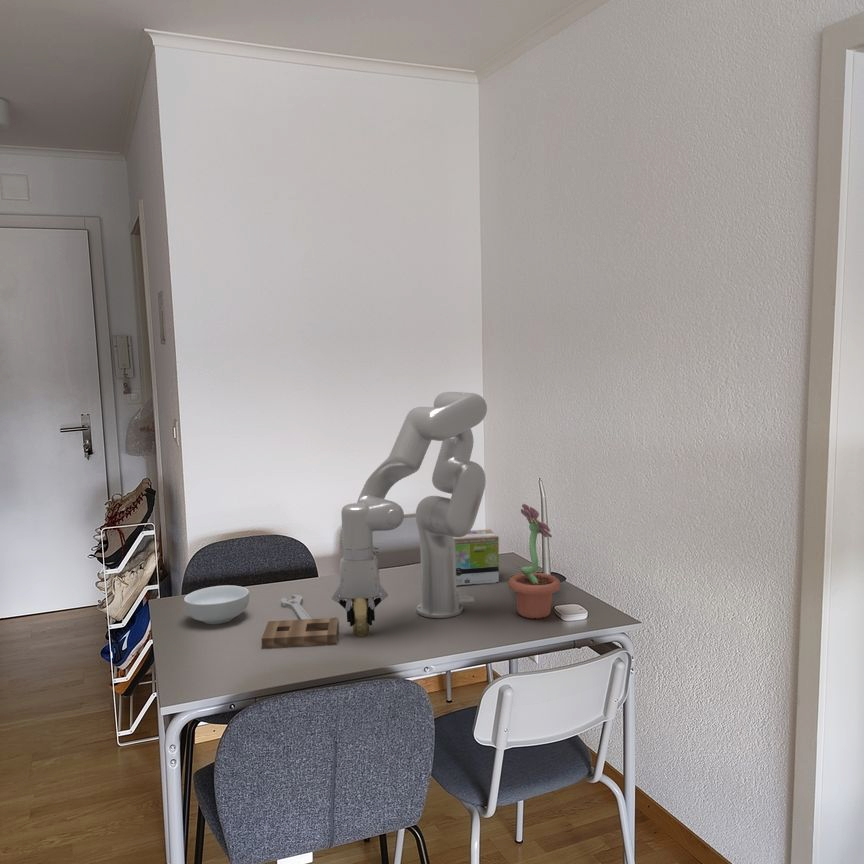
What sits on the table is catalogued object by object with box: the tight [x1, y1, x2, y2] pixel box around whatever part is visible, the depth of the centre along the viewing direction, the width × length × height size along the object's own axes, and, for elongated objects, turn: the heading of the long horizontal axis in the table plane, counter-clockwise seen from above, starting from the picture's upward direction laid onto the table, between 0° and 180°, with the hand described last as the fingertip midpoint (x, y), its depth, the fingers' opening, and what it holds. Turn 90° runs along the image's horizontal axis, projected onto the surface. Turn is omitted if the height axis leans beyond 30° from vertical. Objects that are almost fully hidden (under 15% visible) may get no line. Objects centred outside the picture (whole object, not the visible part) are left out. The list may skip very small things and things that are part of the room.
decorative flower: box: [507, 503, 562, 619], centre depth 205 cm, size 15×14×30 cm
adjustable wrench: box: [280, 594, 312, 620], centre depth 213 cm, size 25×6×2 cm, turn 18°
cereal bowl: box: [183, 584, 250, 625], centre depth 210 cm, size 17×17×7 cm
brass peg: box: [351, 598, 371, 638], centre depth 196 cm, size 4×4×10 cm
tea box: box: [453, 529, 500, 586], centre depth 237 cm, size 15×10×15 cm
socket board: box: [261, 617, 340, 649], centre depth 195 cm, size 18×12×2 cm, turn 94°
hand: (361, 623), depth 196 cm, fingers closed on brass peg, 4 cm apart
